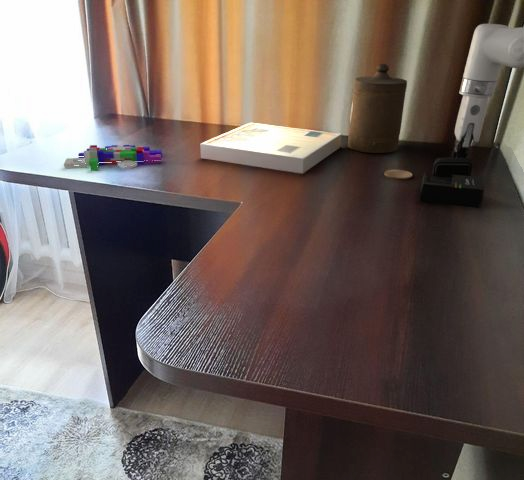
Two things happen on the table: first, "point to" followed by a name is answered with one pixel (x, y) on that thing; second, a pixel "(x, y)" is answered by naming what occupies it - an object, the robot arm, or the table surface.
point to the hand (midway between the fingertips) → (456, 168)
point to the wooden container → (377, 112)
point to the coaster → (398, 174)
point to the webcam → (450, 169)
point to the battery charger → (453, 191)
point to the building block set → (114, 157)
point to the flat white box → (272, 147)
